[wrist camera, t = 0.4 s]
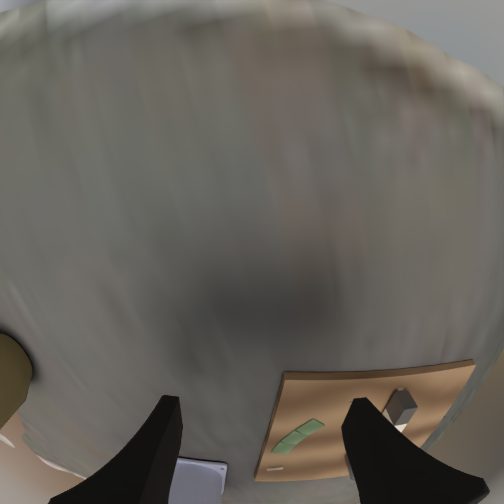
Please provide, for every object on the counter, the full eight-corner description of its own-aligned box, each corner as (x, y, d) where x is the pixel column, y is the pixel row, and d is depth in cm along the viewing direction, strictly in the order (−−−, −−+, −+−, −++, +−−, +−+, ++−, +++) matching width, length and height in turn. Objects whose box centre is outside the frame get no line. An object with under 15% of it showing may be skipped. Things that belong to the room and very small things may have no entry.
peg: (369, 458, 26) (375, 476, 23) (339, 463, 26) (345, 482, 23) (416, 387, 22) (429, 408, 19) (383, 391, 22) (395, 414, 19)
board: (404, 457, 29) (406, 463, 28) (253, 475, 28) (254, 482, 27) (471, 359, 23) (477, 365, 22) (283, 371, 22) (285, 381, 21)
